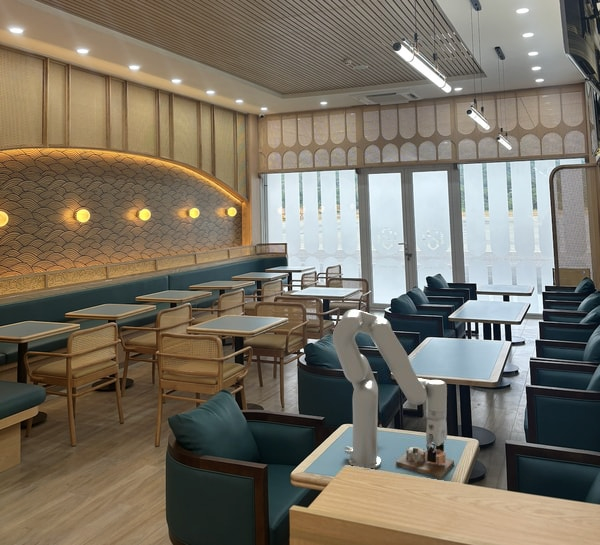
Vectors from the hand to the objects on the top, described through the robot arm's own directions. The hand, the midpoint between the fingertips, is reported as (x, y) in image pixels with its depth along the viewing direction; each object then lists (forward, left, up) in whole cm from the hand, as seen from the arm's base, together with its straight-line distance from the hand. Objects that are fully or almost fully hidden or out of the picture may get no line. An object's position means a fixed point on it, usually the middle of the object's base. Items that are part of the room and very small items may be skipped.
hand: (435, 457), depth 201 cm
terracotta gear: (0, 0, -1) cm, 1 cm away
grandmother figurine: (-32, +10, -4) cm, 34 cm away
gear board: (-4, 0, -4) cm, 6 cm away
